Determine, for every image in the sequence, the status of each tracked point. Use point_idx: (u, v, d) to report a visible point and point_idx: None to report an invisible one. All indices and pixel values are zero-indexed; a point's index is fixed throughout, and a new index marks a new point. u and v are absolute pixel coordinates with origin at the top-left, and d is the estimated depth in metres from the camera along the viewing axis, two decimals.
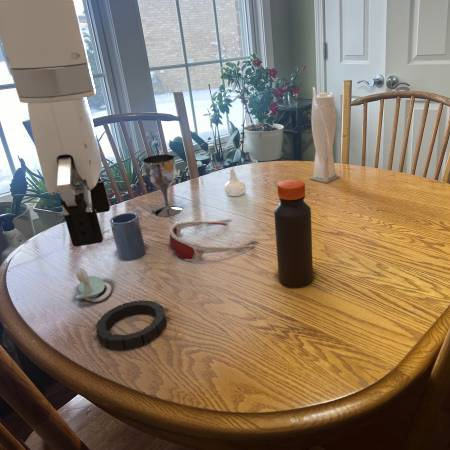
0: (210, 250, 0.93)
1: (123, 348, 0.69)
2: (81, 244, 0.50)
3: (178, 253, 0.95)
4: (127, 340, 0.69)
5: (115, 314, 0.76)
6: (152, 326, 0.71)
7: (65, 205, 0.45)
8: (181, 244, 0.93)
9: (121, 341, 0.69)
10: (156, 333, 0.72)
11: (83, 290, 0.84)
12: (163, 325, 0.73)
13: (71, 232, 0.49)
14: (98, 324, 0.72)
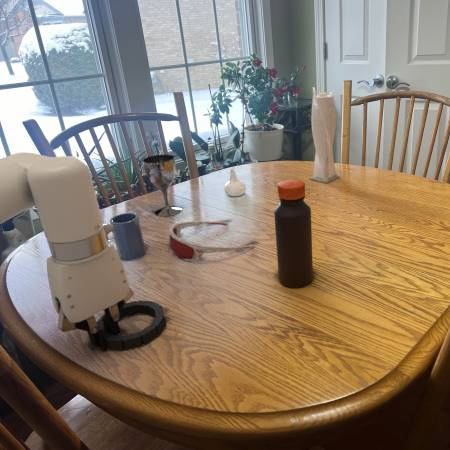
0: (210, 250, 0.93)
1: (122, 348, 0.69)
2: None
3: (178, 253, 0.95)
4: (126, 340, 0.69)
5: None
6: (151, 326, 0.71)
7: None
8: (181, 244, 0.93)
9: (120, 342, 0.68)
10: (155, 333, 0.71)
11: None
12: (162, 325, 0.73)
13: None
14: (97, 324, 0.72)
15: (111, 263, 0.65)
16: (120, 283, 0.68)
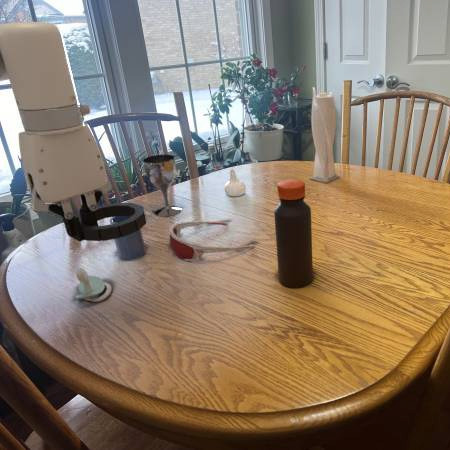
0: (210, 250, 0.93)
1: (99, 238, 0.67)
2: (73, 237, 0.68)
3: (178, 253, 0.95)
4: (103, 230, 0.67)
5: None
6: (130, 220, 0.69)
7: None
8: (181, 244, 0.93)
9: (96, 231, 0.66)
10: (134, 227, 0.69)
11: (83, 290, 0.84)
12: (142, 222, 0.71)
13: None
14: None
15: (87, 144, 0.64)
16: (97, 169, 0.66)
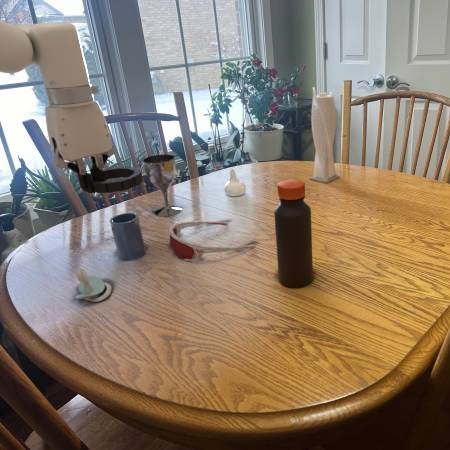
0: (210, 250, 0.93)
1: (106, 191, 0.86)
2: (85, 191, 0.87)
3: (178, 253, 0.95)
4: (109, 183, 0.86)
5: None
6: (130, 177, 0.88)
7: None
8: (181, 244, 0.93)
9: (104, 184, 0.86)
10: (133, 183, 0.89)
11: (83, 290, 0.84)
12: (139, 179, 0.90)
13: None
14: None
15: (96, 116, 0.83)
16: (104, 136, 0.85)
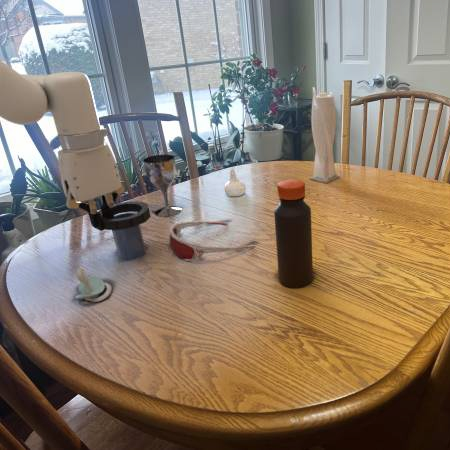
0: (210, 250, 0.93)
1: (116, 228, 0.90)
2: (96, 227, 0.91)
3: (178, 253, 0.95)
4: (119, 221, 0.89)
5: None
6: (138, 214, 0.92)
7: None
8: (181, 244, 0.93)
9: (114, 222, 0.89)
10: (142, 219, 0.92)
11: (83, 290, 0.84)
12: (147, 215, 0.94)
13: None
14: None
15: (106, 158, 0.86)
16: (113, 176, 0.88)
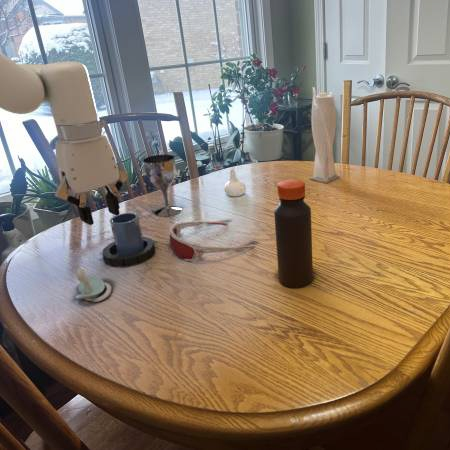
0: (210, 250, 0.93)
1: (123, 265, 0.93)
2: (85, 222, 0.89)
3: (178, 253, 0.95)
4: (126, 259, 0.93)
5: None
6: (144, 250, 0.96)
7: None
8: (181, 244, 0.93)
9: (121, 260, 0.93)
10: (147, 256, 0.96)
11: (83, 290, 0.84)
12: (153, 251, 0.98)
13: None
14: (103, 250, 0.96)
15: (104, 149, 0.85)
16: (111, 168, 0.87)
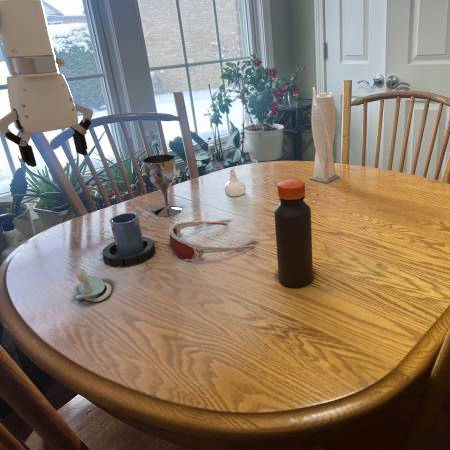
0: (210, 250, 0.93)
1: (123, 265, 0.93)
2: (28, 164, 0.82)
3: (178, 253, 0.95)
4: (126, 259, 0.93)
5: None
6: (144, 250, 0.96)
7: (4, 136, 0.78)
8: (181, 244, 0.93)
9: (121, 260, 0.93)
10: (147, 256, 0.96)
11: (83, 290, 0.84)
12: (153, 251, 0.98)
13: None
14: (103, 250, 0.96)
15: (61, 89, 0.81)
16: (69, 110, 0.83)
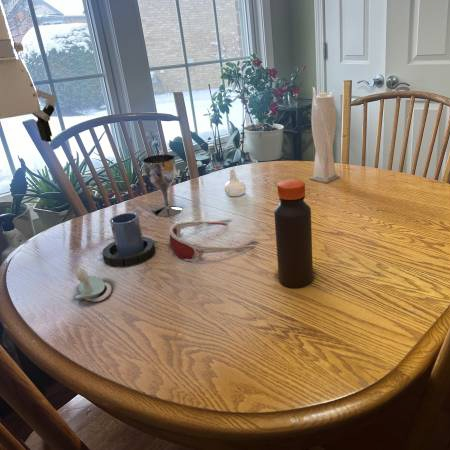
0: (210, 250, 0.93)
1: (123, 265, 0.93)
2: None
3: (178, 253, 0.95)
4: (126, 259, 0.93)
5: None
6: (144, 250, 0.96)
7: None
8: (181, 244, 0.93)
9: (121, 260, 0.93)
10: (147, 256, 0.96)
11: (83, 290, 0.84)
12: (153, 251, 0.98)
13: None
14: (103, 250, 0.96)
15: (20, 74, 0.80)
16: (30, 95, 0.82)
